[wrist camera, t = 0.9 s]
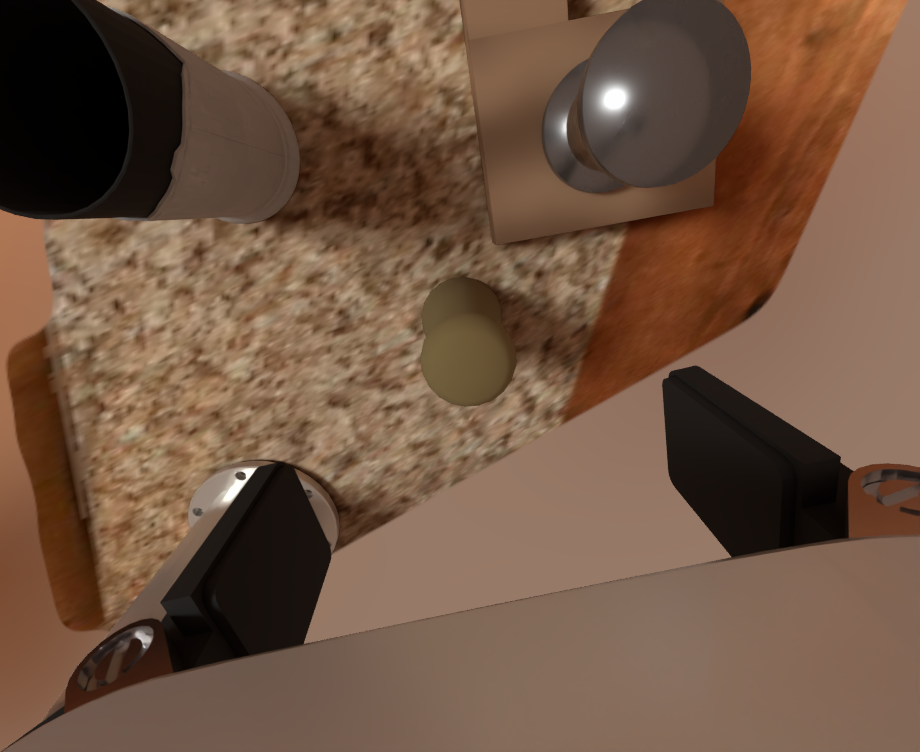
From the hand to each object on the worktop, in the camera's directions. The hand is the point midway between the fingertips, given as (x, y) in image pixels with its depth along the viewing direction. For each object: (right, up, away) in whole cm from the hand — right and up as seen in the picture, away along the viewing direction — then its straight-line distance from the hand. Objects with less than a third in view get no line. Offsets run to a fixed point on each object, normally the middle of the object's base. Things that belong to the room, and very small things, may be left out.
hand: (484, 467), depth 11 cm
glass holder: (-18, +18, +16) cm, 30 cm away
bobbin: (+8, +17, +15) cm, 24 cm away
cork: (0, +7, +21) cm, 22 cm away
